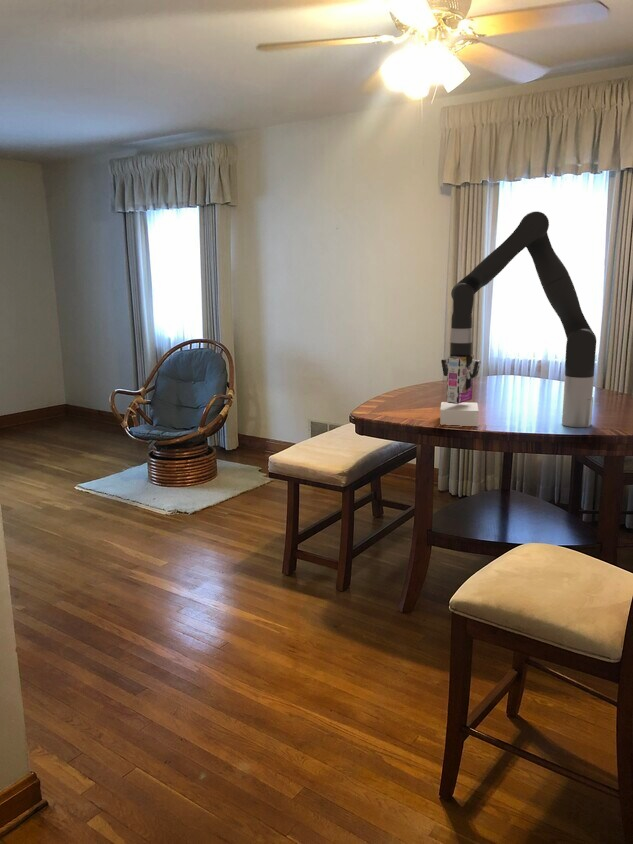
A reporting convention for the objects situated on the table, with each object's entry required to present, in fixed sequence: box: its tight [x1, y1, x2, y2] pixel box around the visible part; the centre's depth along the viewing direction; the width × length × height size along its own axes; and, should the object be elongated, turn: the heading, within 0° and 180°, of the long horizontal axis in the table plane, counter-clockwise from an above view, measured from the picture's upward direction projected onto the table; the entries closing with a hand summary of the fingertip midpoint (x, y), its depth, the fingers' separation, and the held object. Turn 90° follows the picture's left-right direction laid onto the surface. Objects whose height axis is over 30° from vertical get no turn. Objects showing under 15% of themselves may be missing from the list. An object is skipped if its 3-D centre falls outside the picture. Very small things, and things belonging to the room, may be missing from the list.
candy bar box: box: [445, 354, 475, 404], centre depth 233 cm, size 11×5×16 cm, turn 141°
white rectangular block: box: [439, 401, 479, 427], centre depth 236 cm, size 13×15×6 cm
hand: (460, 388), depth 234 cm, fingers closed on candy bar box, 5 cm apart
